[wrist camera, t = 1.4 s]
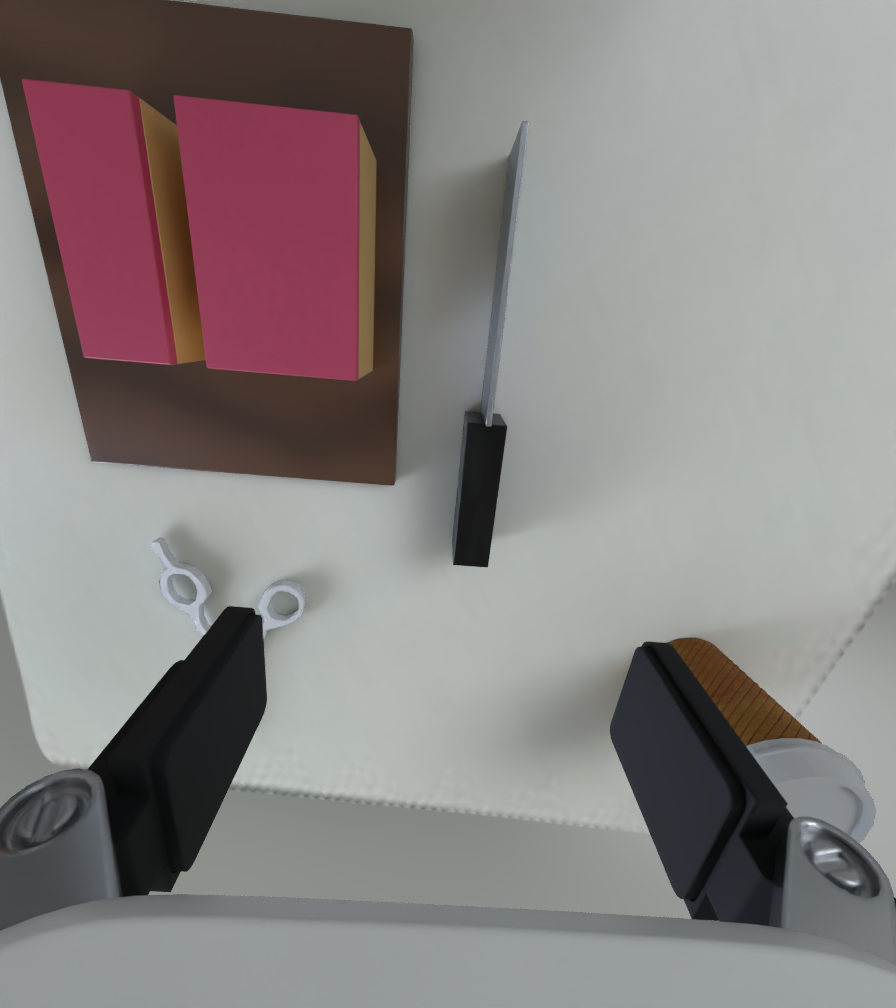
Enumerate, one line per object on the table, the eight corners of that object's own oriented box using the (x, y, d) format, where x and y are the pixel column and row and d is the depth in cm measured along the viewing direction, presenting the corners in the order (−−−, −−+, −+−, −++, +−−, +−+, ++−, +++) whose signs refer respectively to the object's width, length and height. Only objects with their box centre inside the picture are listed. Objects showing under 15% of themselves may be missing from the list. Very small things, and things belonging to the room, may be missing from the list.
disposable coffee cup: (767, 663, 35) (919, 824, 23) (671, 729, 37) (766, 900, 26) (694, 598, 32) (825, 742, 21) (597, 673, 35) (668, 836, 24)
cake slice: (114, 132, 21) (20, 77, 16) (199, 141, 21) (129, 89, 16) (151, 351, 25) (83, 357, 20) (222, 357, 25) (171, 365, 20)
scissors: (308, 572, 30) (281, 767, 37) (311, 566, 31) (284, 759, 38) (150, 541, 29) (154, 747, 36) (157, 536, 30) (160, 739, 37)
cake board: (-8, -10, 19) (-25, -24, 19) (413, 38, 20) (412, 27, 19) (100, 458, 28) (91, 462, 27) (395, 481, 29) (394, 486, 28)
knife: (490, 153, 22) (499, 118, 18) (533, 157, 22) (551, 123, 18) (452, 540, 30) (453, 570, 26) (483, 542, 30) (488, 572, 27)
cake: (232, 145, 21) (172, 94, 16) (376, 160, 21) (357, 114, 17) (250, 360, 25) (206, 368, 20) (373, 371, 25) (356, 381, 20)
